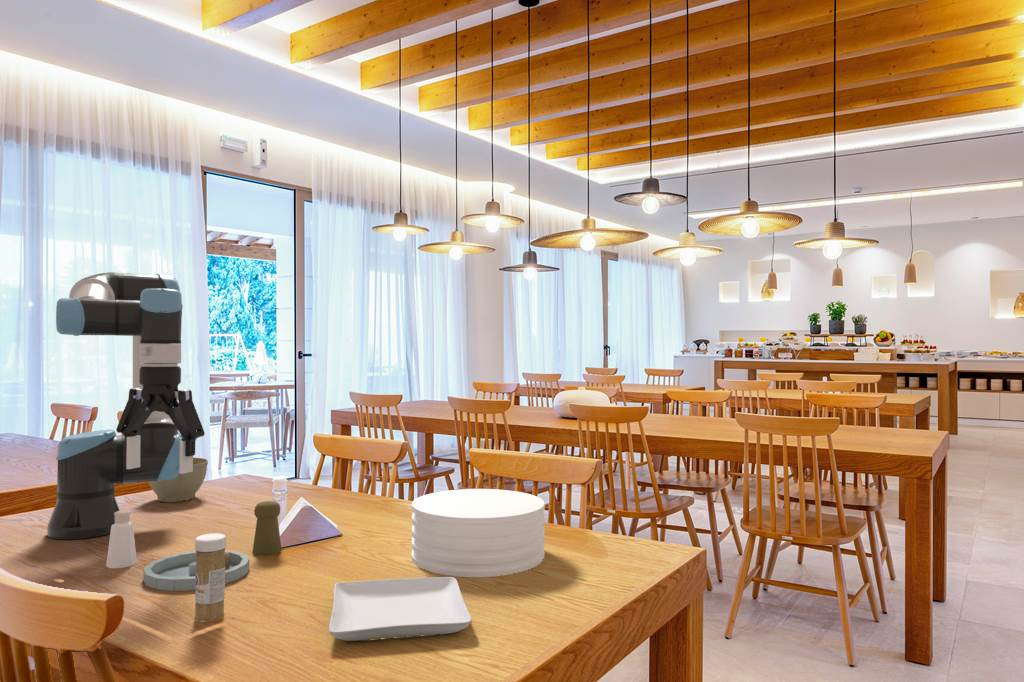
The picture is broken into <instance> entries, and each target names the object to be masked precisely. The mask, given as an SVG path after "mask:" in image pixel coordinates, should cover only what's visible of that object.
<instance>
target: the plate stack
mask: <svg viewBox="0 0 1024 682" xmlns="http://www.w3.org/2000/svg"><path fill="white" fill-rule="evenodd" d="M545 505H546V503H545V500H544V499H542V498H541V497H539V496H537V495H534V494H530V493H526V492H523V491H517V490H508V489H499V488H497V489H495V488H462V489H451V490H450V489H449V490H443V491H442V490H441V491H436V492H431V493H427V494H424V495H421V496H419V497H418V496H417V498H415V499H413V501H412V502H411V511H412V514H411V524H412V526H411V537H412V538H411V548H412V549H411V554H410V555H411V556H410V557H411V558H410V559H411V561H412V563H413V564H414V565H415V566H417V567H418V568H421V569H422V570H424V569H425V571H427V570H428V571H427V572H430V571H431V573H434V574H438V573H439V574H440V575H444V576H449V577H453V576H454V577H459V578H460V577H463V578H464V577H465V578H490V577H491V576H492V577H502V576H508V574H509V575H514V574H513V573H515V574H518V572H519V573H523V572H526V571H529V570H531V568H532V569H534V568H536V567H537V565H538V564H539V565H540V563H541V562H542V561H543V562H544V560H545V549H544V548H545V543H546V542H545V537H544V536H545V530H546V528H545V525H544V524H545V522H546V521H545V519H546V516H545V513H544V512H545V509H546V508H545ZM543 559H544V560H543ZM543 562H542V563H543ZM542 563H541V564H542ZM539 565H538V566H539ZM535 566H536V567H535ZM533 567H534V568H533ZM528 569H529V570H528ZM525 570H526V571H525ZM522 571H523V572H522ZM501 575H502V576H501Z"/></svg>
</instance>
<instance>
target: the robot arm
mask: <svg viewBox="0 0 1024 682" xmlns="http://www.w3.org/2000/svg"><path fill="white" fill-rule="evenodd" d="M182 300H183V299H182V293H181V289H180V285H179V282H178V280H177V279H176V278H175V277H174V276H171V275H164V274H160V273H156V274H149V273H131V272H129V273H128V272H115V271H113V272H103V273H97V274H93V275H89V276H86V277H84V278H81V279H80V280H78V281H77V282H75V283H74V285H73V286H72V287H71V289H70V291H69V296H68V297H66V298H65V297H64V298H63V297H62V298H59V299H58V300H57V301H56V309H55V313H56V314H55V326H56V332H57V333H59V334H60V335H66V336H67V335H69V336H74V337H79V336H122V337H125V336H126V337H129V336H131V337H132V388H130V389H129V391H128V399H127V401H126V404H125V406H124V409H123V411H122V414H121V417H120V420H119V422H118V424H117V427H116V429H101V430H100V429H99V430H94V431H93V430H91V431H85V432H80V433H77V434H75V433H74V434H72V435H69V436H66V437H63V438H62V439H60V441H59V443H58V445H57V456H56V461H57V474H56V475H57V478H56V479H57V481H56V503H55V506H54V508H53V510H52V513H51V516H50V518H49V521H48V524H47V527H46V528H47V531H46V533H47V538H51V539H54V540H55V539H57V540H79V539H80V540H81V539H90V538H96V537H100V536H106V535H110V532H111V526H112V525H113V524H115V515H114V513H115V512H117V511H121V510H120V507H119V506H118V503H117V500H116V497H115V485H123V484H135V483H136V484H138V483H149V482H151V481H156V482H159V481H163V480H171V479H174V478H176V477H177V476H178V474H184V473H189V472H193V457H195V455H196V441H197V439H198V438H200V437H205V430H204V428H203V424H202V422H201V419H200V417H199V413H198V412H197V409H196V407H195V403H194V401H193V393H192V390H191V389H181V390H179V385H180V384H181V383H182V368H181V366H179V364H181V363H182V317H183V306H184V305H183V301H182ZM115 430H116V431H115ZM116 432H117V433H116ZM117 434H122V435H117Z"/></svg>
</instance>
